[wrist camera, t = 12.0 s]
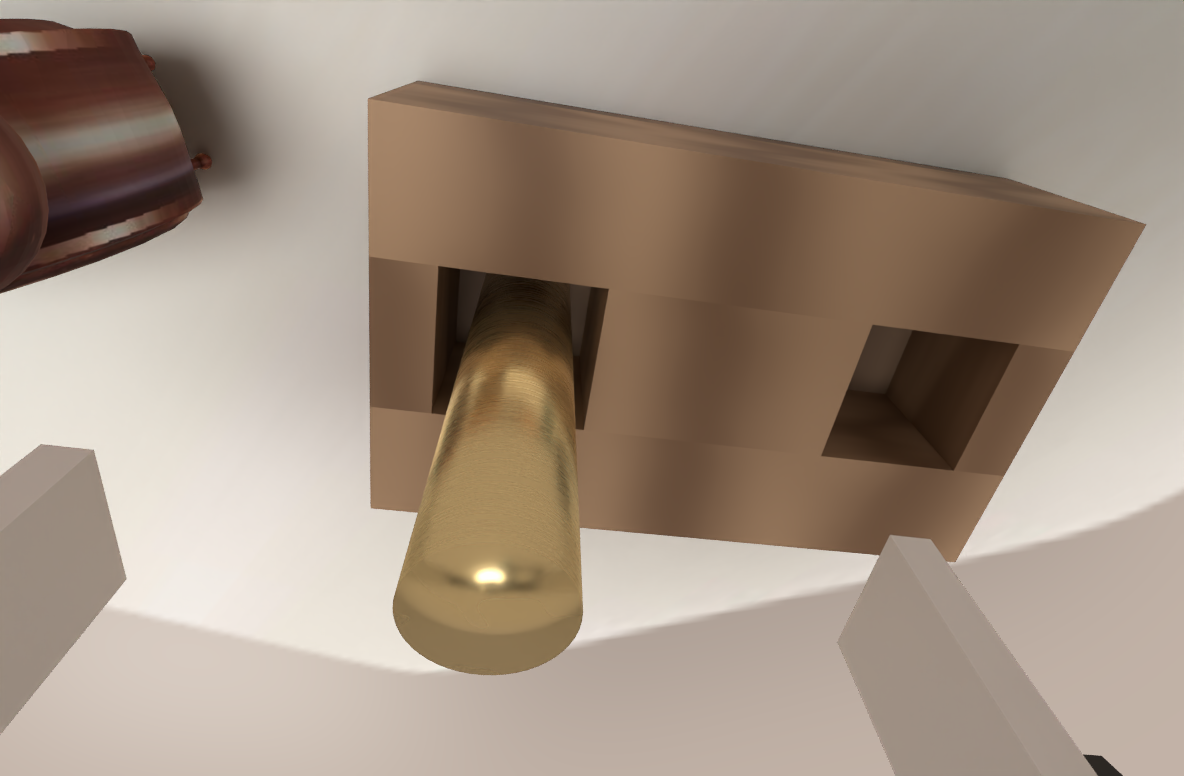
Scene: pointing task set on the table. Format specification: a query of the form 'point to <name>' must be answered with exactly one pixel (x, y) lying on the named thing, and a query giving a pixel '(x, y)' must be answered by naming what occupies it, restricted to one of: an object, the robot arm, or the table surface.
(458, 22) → the table surface
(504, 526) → the brass pin
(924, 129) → the table surface
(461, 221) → the walnut hole block
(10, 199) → the alarm clock
